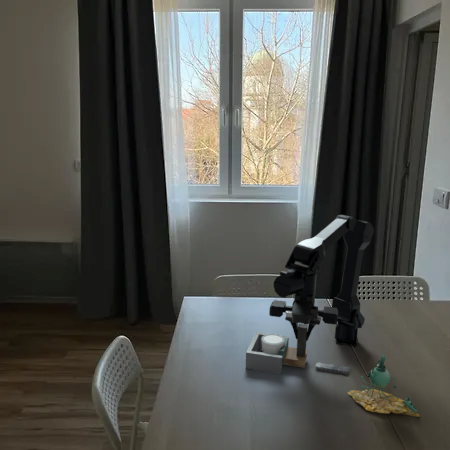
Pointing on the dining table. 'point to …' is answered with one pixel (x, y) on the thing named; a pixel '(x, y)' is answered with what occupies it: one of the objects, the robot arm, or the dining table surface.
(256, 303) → the dining table surface
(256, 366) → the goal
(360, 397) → the gold and teal figure
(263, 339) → the white cylinder
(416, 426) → the dining table surface
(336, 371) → the rail
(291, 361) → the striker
